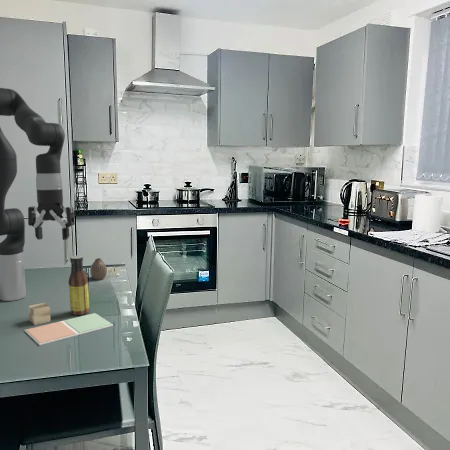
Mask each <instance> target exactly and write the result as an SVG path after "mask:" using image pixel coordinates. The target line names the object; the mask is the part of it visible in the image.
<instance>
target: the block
mask: <svg viewBox="0 0 450 450" xmlns="http://www.w3.org/2000/svg"><path fill="white" fill-rule="evenodd" d="M28 317H29V318H28V319H29V322H31V323H32V324H33V325H34V326H36V325H41V324H45V323H50V322H51V306H49V305H48V304H47V303H46V302H41V303H36V304H33V305H32V304H31V305H28Z"/></svg>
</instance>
